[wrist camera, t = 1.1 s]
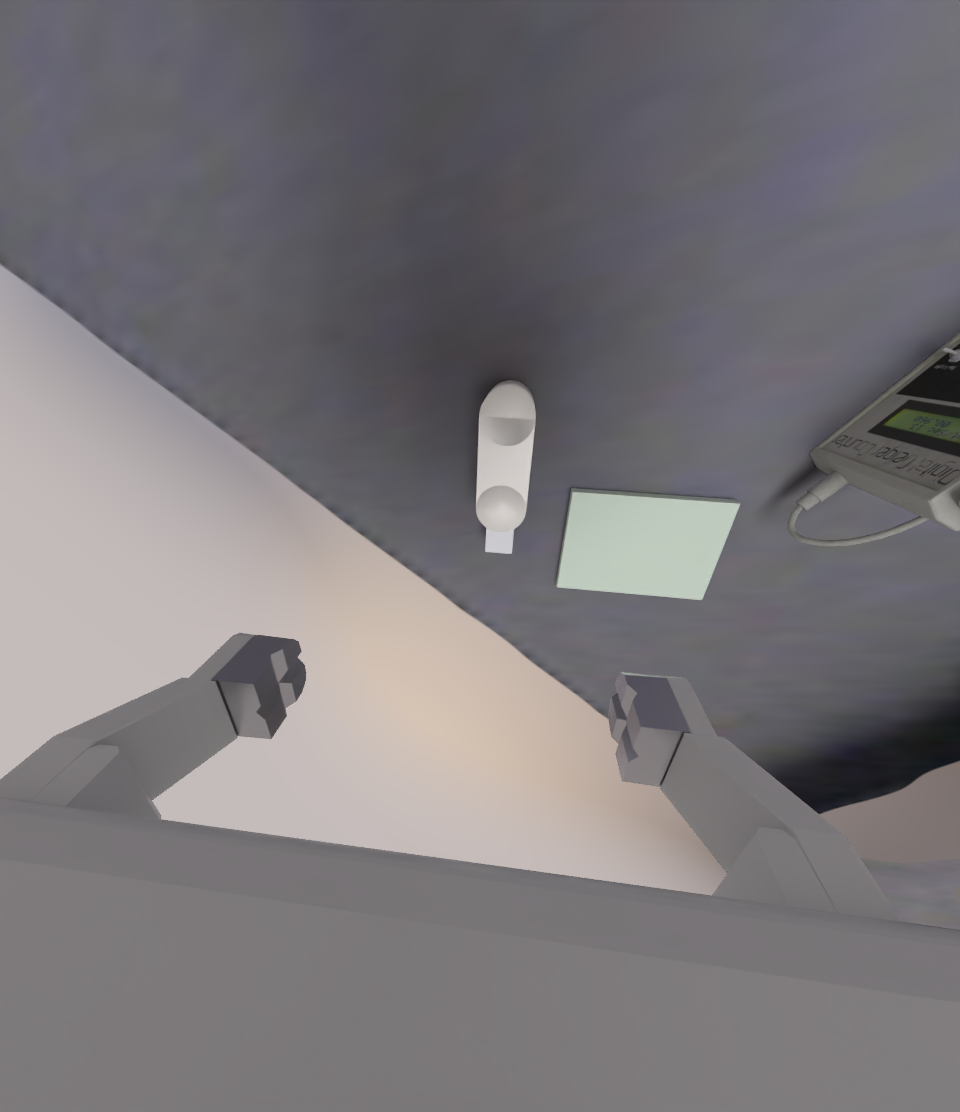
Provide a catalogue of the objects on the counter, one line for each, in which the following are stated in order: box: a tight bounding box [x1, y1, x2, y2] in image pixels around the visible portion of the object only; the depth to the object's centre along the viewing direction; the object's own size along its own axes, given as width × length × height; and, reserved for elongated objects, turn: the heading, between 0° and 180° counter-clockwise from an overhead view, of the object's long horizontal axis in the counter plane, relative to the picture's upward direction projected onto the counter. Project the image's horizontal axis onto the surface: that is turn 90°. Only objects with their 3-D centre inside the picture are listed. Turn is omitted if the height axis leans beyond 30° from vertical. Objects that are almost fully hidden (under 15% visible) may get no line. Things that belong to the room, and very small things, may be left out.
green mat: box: [556, 488, 740, 600], centre depth 36 cm, size 10×14×1 cm
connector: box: [476, 380, 536, 554], centre depth 32 cm, size 14×4×5 cm, turn 178°
